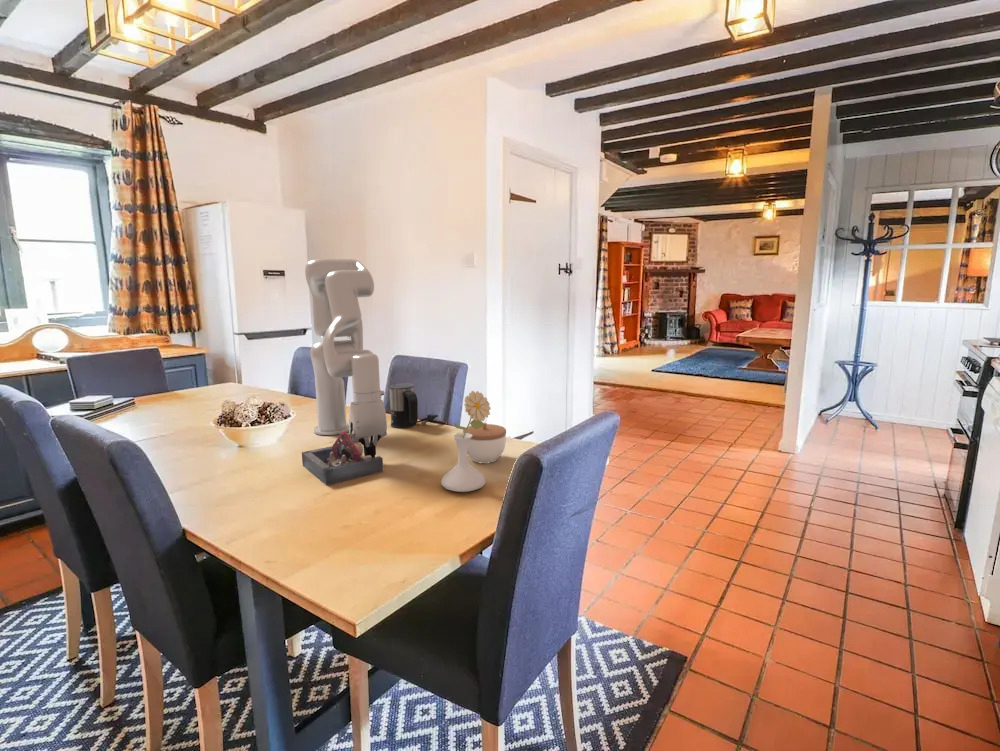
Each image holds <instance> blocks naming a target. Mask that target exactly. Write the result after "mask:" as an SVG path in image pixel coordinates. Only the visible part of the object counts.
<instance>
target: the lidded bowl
mask: <svg viewBox="0 0 1000 751" xmlns="http://www.w3.org/2000/svg"><path fill="white" fill-rule="evenodd" d="M483 423H484V425H483V426H482V427H481V428H478V429H475V428H473V427H472V426H471V425H469V427H468V429H467V431H466V433H470V434H472V438H471V439H470V441H469V443H468V450H467V456H468V457H470V458H471V459H472V461H473V460H474V461H476V462H481V463H480V464H482V463H486V464H489V463H488V462H493V463H495V462H497V461H498V459H499V458H500V457H501V455H502V454H503V452H504V451H505V447H506V438H507V437H506V436H507V429H506V428H505V427H504V426H502V425H497V424H492V423H486V422H483ZM465 428H467V426H465ZM464 432H465V430H463V429H462V433H464ZM496 460H497V461H496ZM474 461H473V462H474ZM494 461H495V462H494ZM476 462H475V463H476Z"/></svg>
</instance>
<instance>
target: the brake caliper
mask: <svg viewBox="0 0 1000 751" xmlns="http://www.w3.org/2000/svg"><path fill="white" fill-rule="evenodd" d="M341 440H342V441H341ZM342 445H343V446H342ZM331 446H332V452H331V453H330V458H328V459H327V461H328V466H330V467H332V466H337V465H341V464H346V463H350V462H355V461H359V460H364V459H368V458H372V456H371V455H368V456H364V448H363V447H362V446H363V445H362V444H361V443H360V442H359V443H358V442H352V440H351V434H350V433H349V432H345V431H343V432H342V433H341V434H339V436H338V437H337V439H336V440H335V441H334V443H333V444H332V445H331ZM338 447H341V452H339V448H338Z"/></svg>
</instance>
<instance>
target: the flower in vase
mask: <svg viewBox="0 0 1000 751" xmlns="http://www.w3.org/2000/svg"><path fill="white" fill-rule="evenodd" d="M464 402H465V403H464V410H465V413H467V415H468V416H469V422H468V423H467V426H463V425H462V426H461V425H458V424H457V423H454V427H455V428H456V429H460V430H462V431H463V430H465V432H464V433H463V432H459V433H458V432H456V433H454V434H452V438H453V439H454V441H455V443H456V445H457V450H458V451H457V452H458V453H457V454H458V461H457V464H456V465H455V466H453V468H451V469H450V470H448V471H447V472H446V473H445V474H444V476H442V478H441V481H440V483H441V486H443V488H444V489H445V490H449V491H453V492H457V493H466V492H472V491H473V492H474V491H475V490H479V489H481V488H483V487H484V485H485V484H486V482H487V481H486V480H487V479H486V478H485V475H484V474H483V473H481V471H479V470H478V469H476V468H475V467H473V466H472V465H471V464H470V463H469V459H468V454H467V450H468V443H469V441H470V439H471V438H472V434H470V433H466V431H467V429H468V427H469V426H472V427H473V428H475V429H478V428H481V427H482V426H483V425H484V423H485V422H484V421H485V420H486V418H489V416H490V415H491V412H490V410H491V406H490V402H489V401H488V398H487V397H486V396H484V394H483V393H482V392H480V391H478V390H477V391H473V390H472V391H471V392H469V394H468V395H466V396H465V398H464ZM466 427H467V428H466Z"/></svg>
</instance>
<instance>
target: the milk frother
mask: <svg viewBox="0 0 1000 751" xmlns="http://www.w3.org/2000/svg"><path fill="white" fill-rule="evenodd" d="M388 388H389V401H390V421H391V422H390V426H391V427H392V428H397V429H403V428H411V427H414V426H416V425H417V424H418V423H422V422H425V421H428V422H429V423H430V422H432V421H433V420H435V419H436V418H438V417H439V415H438V414H431V413H429V414H428V415H426V417H424V418H421V419H419V420H418V417H419V416H418V414H419V413H418V412H419V411H418V410H419V409H418V404H419V402H418V401H419V400H418V397H417V394H416V392H415V390H414V388H415V384H414V383H410V382H409V383H408V382H405V383H404V382H402V383H393V384H390V385H388Z"/></svg>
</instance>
